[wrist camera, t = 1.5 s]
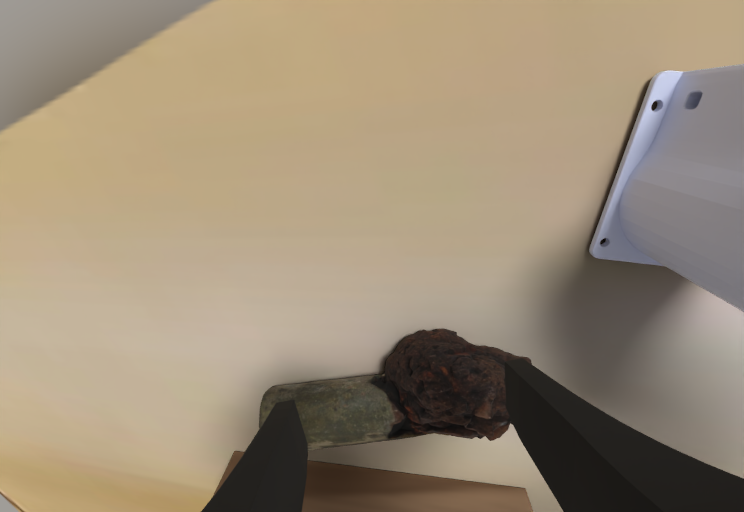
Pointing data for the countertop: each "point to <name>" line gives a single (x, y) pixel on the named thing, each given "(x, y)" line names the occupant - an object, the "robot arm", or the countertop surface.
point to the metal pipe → (406, 395)
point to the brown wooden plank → (397, 491)
